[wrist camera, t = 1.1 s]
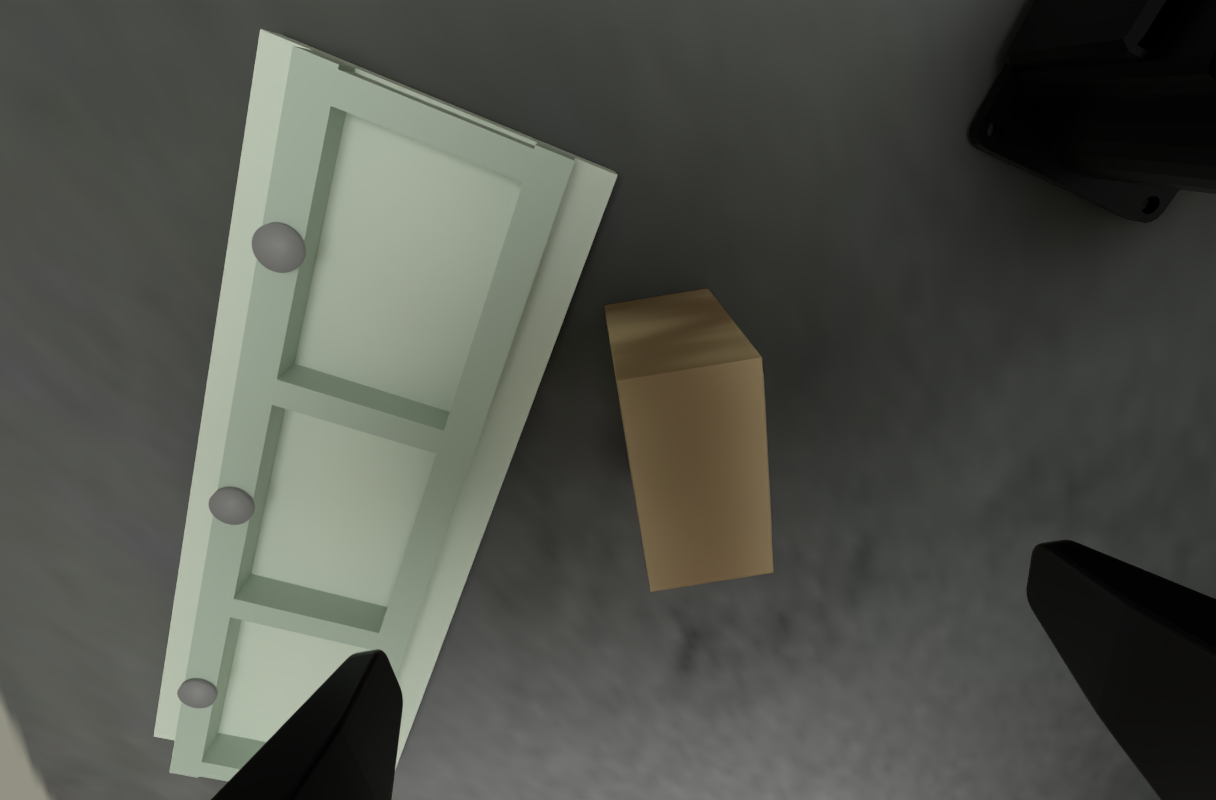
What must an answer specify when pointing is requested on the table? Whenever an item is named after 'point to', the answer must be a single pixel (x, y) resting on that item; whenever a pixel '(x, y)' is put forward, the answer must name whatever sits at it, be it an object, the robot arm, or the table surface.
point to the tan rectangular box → (693, 438)
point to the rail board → (359, 389)
